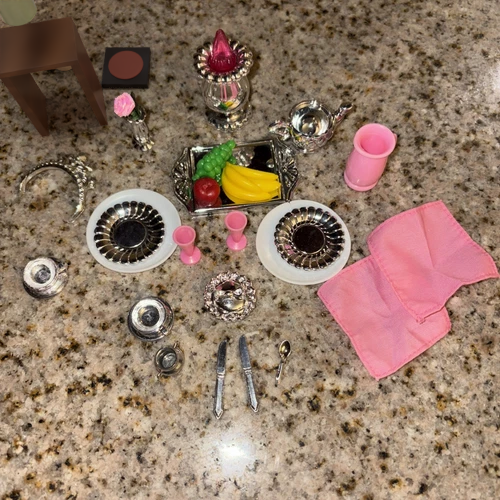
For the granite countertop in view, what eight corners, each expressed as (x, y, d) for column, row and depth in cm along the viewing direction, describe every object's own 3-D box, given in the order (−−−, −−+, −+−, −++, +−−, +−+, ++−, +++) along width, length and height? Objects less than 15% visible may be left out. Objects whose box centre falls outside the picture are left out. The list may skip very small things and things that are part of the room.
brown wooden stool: (41, 137, 104) (-4, 74, 85) (38, 98, 107) (-7, 29, 88) (107, 124, 105) (77, 59, 86) (102, 87, 108) (71, 16, 89)
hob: (103, 88, 108) (100, 83, 106) (107, 51, 111) (105, 46, 110) (148, 88, 108) (146, 83, 107) (151, 51, 111) (149, 46, 110)
